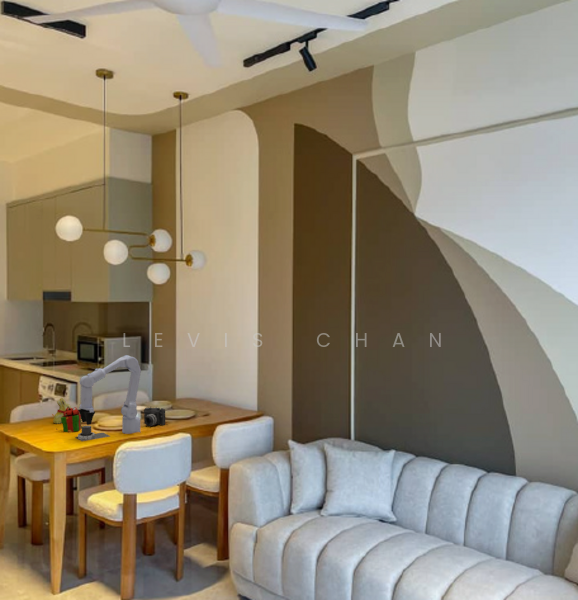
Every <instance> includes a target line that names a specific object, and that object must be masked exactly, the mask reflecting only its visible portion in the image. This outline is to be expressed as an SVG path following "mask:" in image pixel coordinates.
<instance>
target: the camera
mask: <svg viewBox="0 0 578 600" xmlns="http://www.w3.org/2000/svg"><path fill="white" fill-rule="evenodd" d="M143 417H144V418H143V421H144V422H143V424H145V426H148V427H153V426H155V425H156V426H158V425H159V426H165V425H166V409H165V408H164V407H163V408H160V407H152V406H149V407H144V410H143Z"/></svg>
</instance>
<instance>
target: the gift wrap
mask: <svg viewBox="0 0 578 600" xmlns="http://www.w3.org/2000/svg"><path fill="white" fill-rule="evenodd" d="M78 410H79V408H77V407H75V406H74V407H71V408H69V409H68V408H66V410H65V412H64V413H63V415H64V416H62V417H61V422H62V423H61V424H62V428H63V431H62V432H63V433H69V434H71V433H74V432H79V431H82V426H83V425H82V420H81V416H80V413H79V411H78ZM51 415H52V417H54V416H55V414H53V413H51ZM56 431H59V429H58V428H56Z"/></svg>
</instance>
